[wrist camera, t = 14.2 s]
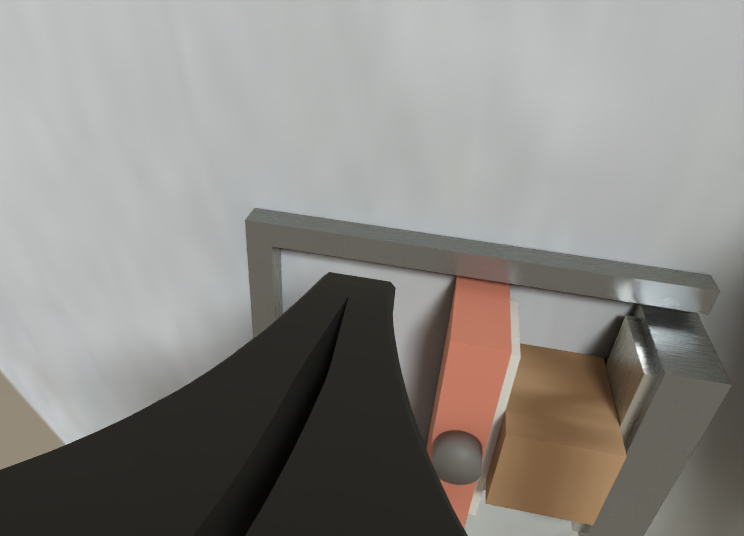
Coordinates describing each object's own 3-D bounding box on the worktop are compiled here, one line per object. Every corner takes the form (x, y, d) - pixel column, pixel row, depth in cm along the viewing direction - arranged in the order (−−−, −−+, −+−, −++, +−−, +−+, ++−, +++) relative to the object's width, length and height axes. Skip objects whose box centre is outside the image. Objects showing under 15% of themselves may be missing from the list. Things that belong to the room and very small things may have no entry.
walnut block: (603, 356, 23) (626, 456, 19) (577, 422, 25) (593, 525, 21) (504, 340, 23) (506, 434, 19) (487, 406, 26) (485, 503, 21)
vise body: (710, 275, 20) (753, 348, 17) (604, 495, 27) (619, 577, 24) (254, 208, 22) (212, 261, 19) (267, 430, 29) (238, 497, 26)
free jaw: (520, 284, 21) (525, 375, 17) (476, 453, 27) (472, 553, 23) (457, 274, 22) (447, 361, 18) (426, 444, 27) (414, 540, 23)
